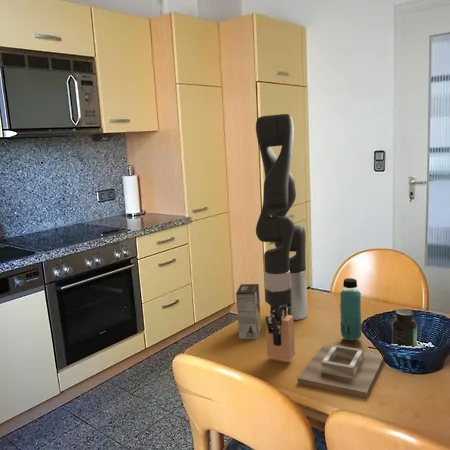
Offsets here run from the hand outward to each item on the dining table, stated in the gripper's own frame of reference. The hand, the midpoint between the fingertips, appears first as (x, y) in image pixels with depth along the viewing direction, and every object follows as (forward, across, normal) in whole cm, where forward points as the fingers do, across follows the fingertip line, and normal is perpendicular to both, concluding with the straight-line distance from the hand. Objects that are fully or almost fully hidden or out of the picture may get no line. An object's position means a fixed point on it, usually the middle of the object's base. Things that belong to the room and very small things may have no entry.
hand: (280, 341), depth 138 cm
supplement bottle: (+6, -20, +31) cm, 37 cm away
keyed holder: (+6, -1, +18) cm, 19 cm away
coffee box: (+6, -14, -17) cm, 23 cm away
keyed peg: (+4, 0, 0) cm, 4 cm away
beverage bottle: (+6, -21, +15) cm, 26 cm away
